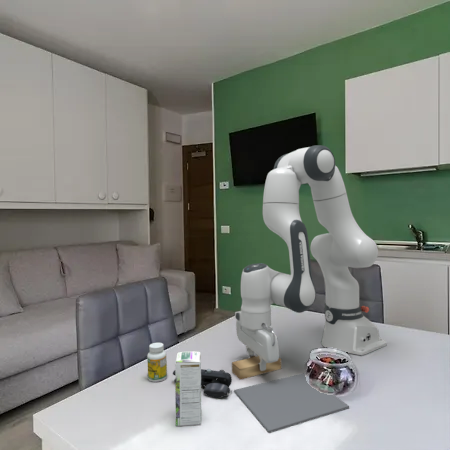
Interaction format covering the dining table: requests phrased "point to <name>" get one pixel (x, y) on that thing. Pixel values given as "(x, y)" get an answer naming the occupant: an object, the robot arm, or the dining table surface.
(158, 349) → the supplement bottle
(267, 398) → the rubber mat
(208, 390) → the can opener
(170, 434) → the dining table surface
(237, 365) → the wooden rectangular block
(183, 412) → the syrup box
